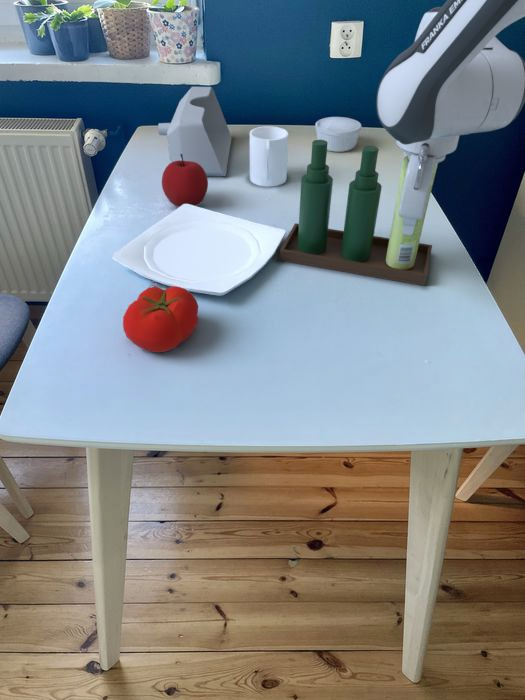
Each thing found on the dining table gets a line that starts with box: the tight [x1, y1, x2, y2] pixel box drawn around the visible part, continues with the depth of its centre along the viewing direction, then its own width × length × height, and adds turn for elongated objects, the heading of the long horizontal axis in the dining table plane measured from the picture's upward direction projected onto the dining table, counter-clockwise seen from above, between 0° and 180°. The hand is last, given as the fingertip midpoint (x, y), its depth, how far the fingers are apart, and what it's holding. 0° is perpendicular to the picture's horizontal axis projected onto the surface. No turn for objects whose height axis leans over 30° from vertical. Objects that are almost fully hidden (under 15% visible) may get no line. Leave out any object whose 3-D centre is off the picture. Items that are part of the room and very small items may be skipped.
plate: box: [111, 204, 287, 296], centre depth 95 cm, size 24×24×3 cm
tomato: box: [122, 285, 199, 353], centre depth 78 cm, size 10×11×6 cm
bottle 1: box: [297, 139, 334, 255], centre depth 91 cm, size 5×5×19 cm
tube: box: [386, 155, 439, 270], centre depth 87 cm, size 6×5×20 cm
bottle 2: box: [341, 145, 382, 262], centre depth 89 cm, size 5×5×19 cm
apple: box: [161, 154, 209, 208], centre depth 108 cm, size 9×9×10 cm
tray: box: [279, 222, 433, 287], centre depth 95 cm, size 25×10×2 cm, turn 72°
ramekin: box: [314, 116, 362, 153], centre depth 134 cm, size 11×11×5 cm
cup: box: [249, 125, 289, 188], centre depth 116 cm, size 8×12×10 cm
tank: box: [157, 86, 232, 177], centre depth 126 cm, size 25×16×12 cm, turn 179°
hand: (410, 218), depth 88 cm, fingers open, 8 cm apart
